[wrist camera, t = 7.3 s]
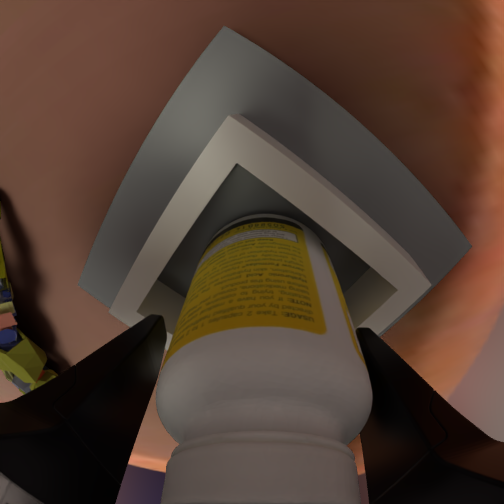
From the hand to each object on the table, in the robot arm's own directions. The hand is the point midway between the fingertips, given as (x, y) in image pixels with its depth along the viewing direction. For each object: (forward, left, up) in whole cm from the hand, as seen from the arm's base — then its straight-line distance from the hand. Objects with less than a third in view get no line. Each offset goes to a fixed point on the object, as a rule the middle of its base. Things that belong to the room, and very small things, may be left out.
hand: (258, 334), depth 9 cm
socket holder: (0, 0, -5) cm, 5 cm away
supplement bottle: (0, 0, -4) cm, 4 cm away
